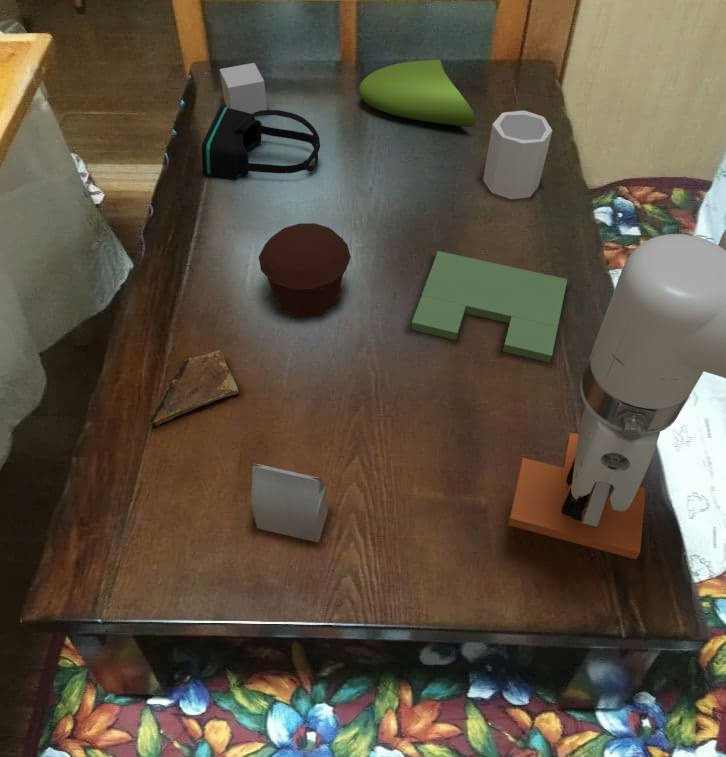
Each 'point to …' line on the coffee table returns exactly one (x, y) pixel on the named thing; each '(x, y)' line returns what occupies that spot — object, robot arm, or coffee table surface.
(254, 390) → the coffee table surface
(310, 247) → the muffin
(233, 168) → the virtual reality headset
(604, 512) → the tab pad
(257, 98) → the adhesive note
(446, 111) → the green curved wedge
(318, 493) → the grey piece
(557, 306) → the notch pad
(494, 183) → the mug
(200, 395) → the shard
